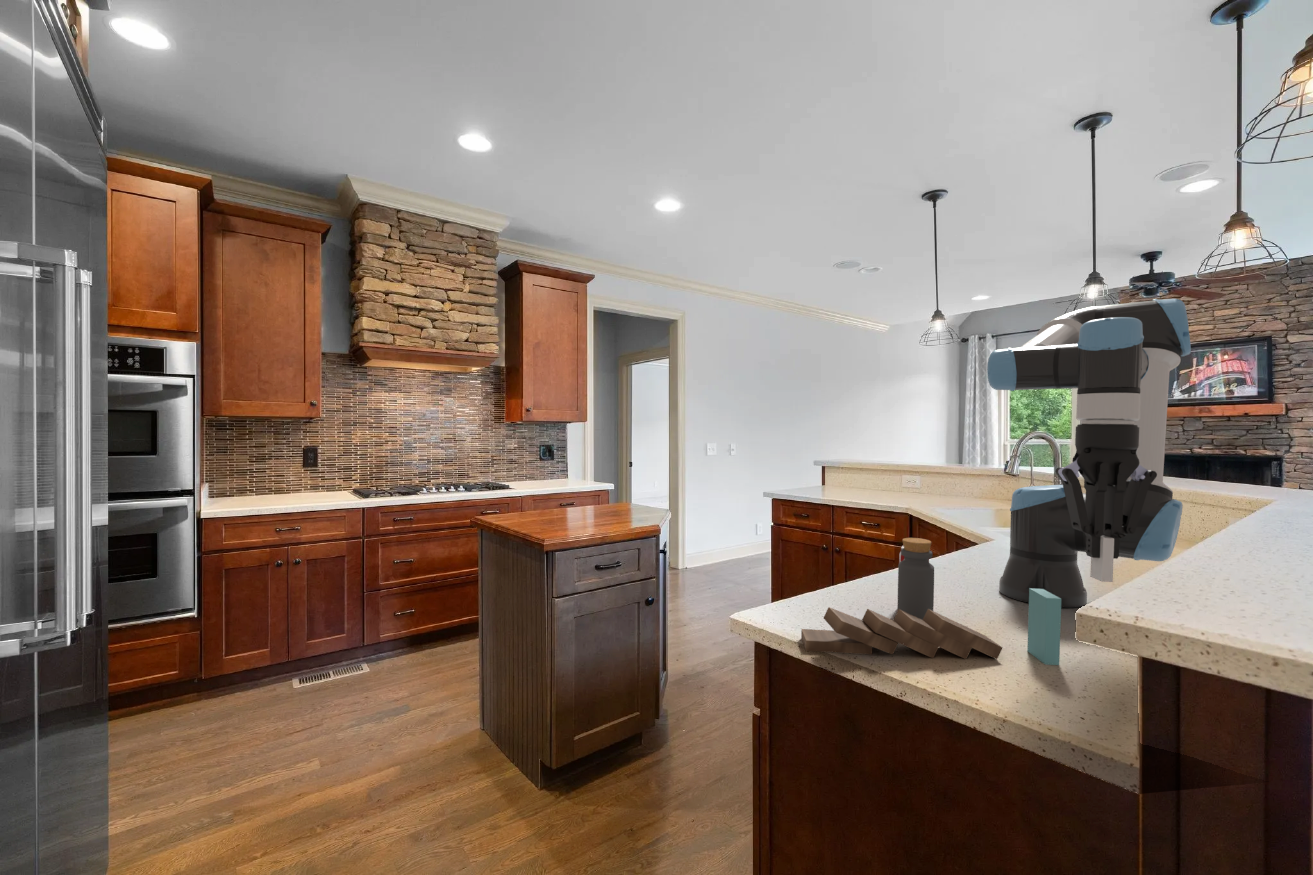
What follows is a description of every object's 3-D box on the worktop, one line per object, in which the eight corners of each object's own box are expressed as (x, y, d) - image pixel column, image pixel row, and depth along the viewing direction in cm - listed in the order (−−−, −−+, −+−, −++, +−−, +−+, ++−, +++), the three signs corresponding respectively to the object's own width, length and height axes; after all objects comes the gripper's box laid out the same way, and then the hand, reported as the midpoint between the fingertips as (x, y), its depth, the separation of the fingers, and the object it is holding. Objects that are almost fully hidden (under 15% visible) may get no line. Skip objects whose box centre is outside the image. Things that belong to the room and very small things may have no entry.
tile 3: (955, 635, 92) (898, 608, 92) (971, 647, 87) (911, 619, 87) (949, 646, 92) (893, 620, 92) (966, 659, 87) (906, 631, 87)
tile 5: (882, 628, 92) (828, 606, 91) (898, 642, 88) (841, 620, 86) (877, 639, 93) (823, 618, 91) (892, 654, 88) (836, 632, 86)
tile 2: (984, 635, 92) (927, 608, 92) (1002, 647, 87) (942, 619, 87) (979, 646, 92) (922, 619, 92) (996, 659, 87) (936, 631, 87)
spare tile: (1040, 651, 90) (1042, 588, 90) (1059, 665, 85) (1061, 598, 85) (1027, 651, 90) (1029, 588, 90) (1044, 664, 86) (1046, 598, 85)
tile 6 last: (863, 632, 94) (801, 628, 95) (872, 643, 89) (806, 640, 90) (863, 644, 94) (801, 640, 95) (871, 656, 89) (805, 653, 90)
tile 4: (922, 633, 92) (867, 608, 92) (938, 646, 87) (880, 620, 87) (917, 644, 92) (862, 619, 92) (933, 658, 87) (874, 632, 87)
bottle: (891, 623, 102) (893, 540, 102) (905, 615, 106) (906, 535, 106) (925, 632, 98) (927, 545, 98) (938, 624, 102) (940, 540, 102)
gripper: (1136, 423, 89) (1131, 575, 89) (1046, 422, 90) (1041, 570, 91) (1174, 423, 81) (1167, 588, 82) (1075, 422, 83) (1069, 583, 83)
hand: (1101, 579), depth 86 cm, fingers closed
